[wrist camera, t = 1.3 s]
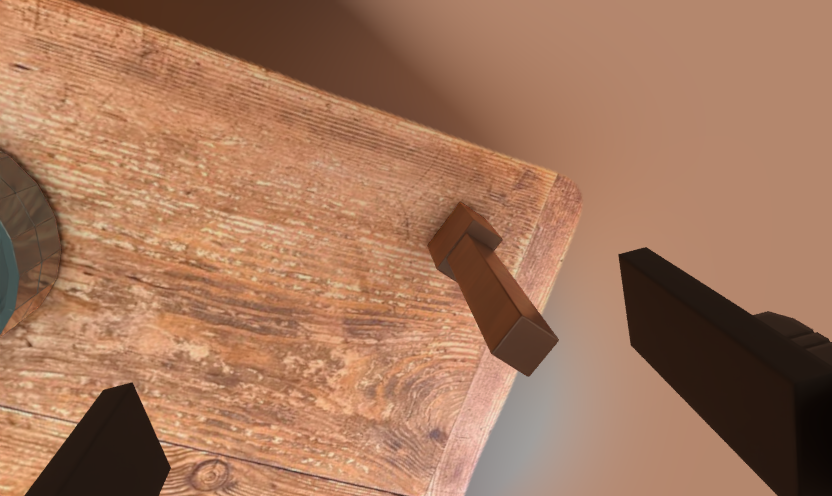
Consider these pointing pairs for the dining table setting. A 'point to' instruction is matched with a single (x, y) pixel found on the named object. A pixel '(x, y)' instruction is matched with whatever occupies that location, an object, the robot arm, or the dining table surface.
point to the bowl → (24, 245)
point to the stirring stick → (491, 290)
